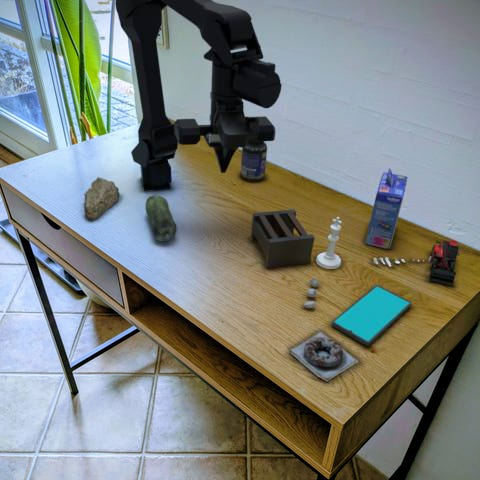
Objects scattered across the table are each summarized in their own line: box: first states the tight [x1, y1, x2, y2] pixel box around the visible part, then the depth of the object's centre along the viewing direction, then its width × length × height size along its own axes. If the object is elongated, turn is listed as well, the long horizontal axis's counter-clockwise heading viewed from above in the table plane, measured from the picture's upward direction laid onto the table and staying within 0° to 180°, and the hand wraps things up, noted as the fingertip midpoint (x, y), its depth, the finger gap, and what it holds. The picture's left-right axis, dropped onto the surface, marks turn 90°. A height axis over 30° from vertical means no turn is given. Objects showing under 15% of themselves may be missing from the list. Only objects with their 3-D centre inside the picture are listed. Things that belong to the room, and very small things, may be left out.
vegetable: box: [145, 194, 178, 242], centre depth 102 cm, size 14×5×5 cm
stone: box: [83, 176, 121, 221], centre depth 108 cm, size 14×7×5 cm, turn 169°
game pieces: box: [303, 276, 319, 309], centre depth 89 cm, size 8×2×2 cm
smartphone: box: [331, 284, 412, 347], centre depth 86 cm, size 7×1×15 cm
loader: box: [428, 237, 460, 286], centre depth 97 cm, size 12×5×5 cm, turn 162°
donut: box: [289, 331, 359, 382], centre depth 77 cm, size 8×8×2 cm
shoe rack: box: [250, 208, 316, 269], centre depth 98 cm, size 9×11×6 cm
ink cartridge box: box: [365, 167, 408, 250], centre depth 102 cm, size 10×6×14 cm, turn 161°
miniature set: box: [373, 256, 432, 268], centre depth 99 cm, size 3×12×2 cm, turn 101°
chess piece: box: [315, 216, 343, 270], centre depth 95 cm, size 5×5×10 cm
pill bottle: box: [240, 138, 268, 183], centre depth 121 cm, size 6×6×11 cm
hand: (222, 172), depth 100 cm, fingers closed
